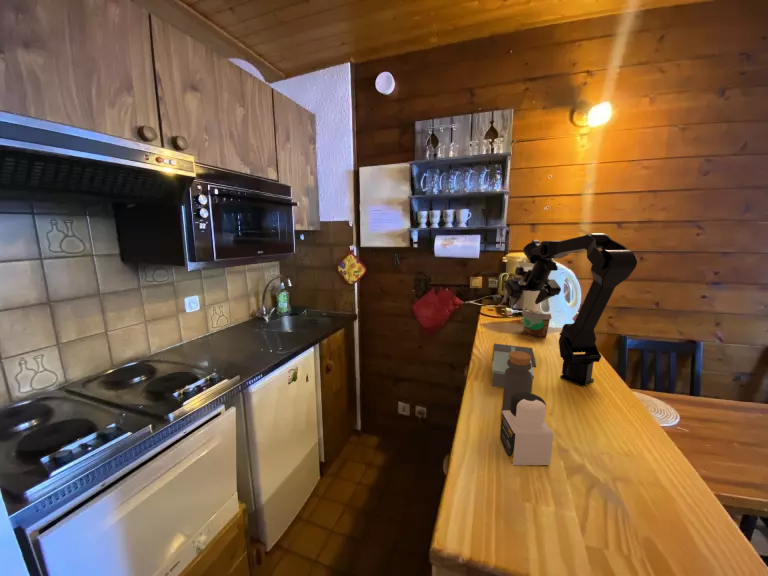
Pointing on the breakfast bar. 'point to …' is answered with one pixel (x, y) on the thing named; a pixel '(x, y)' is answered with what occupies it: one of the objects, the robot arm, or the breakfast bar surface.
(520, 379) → the bottle
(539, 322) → the food container
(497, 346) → the mat
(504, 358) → the lid
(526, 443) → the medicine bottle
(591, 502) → the breakfast bar surface
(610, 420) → the breakfast bar surface
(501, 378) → the tub
